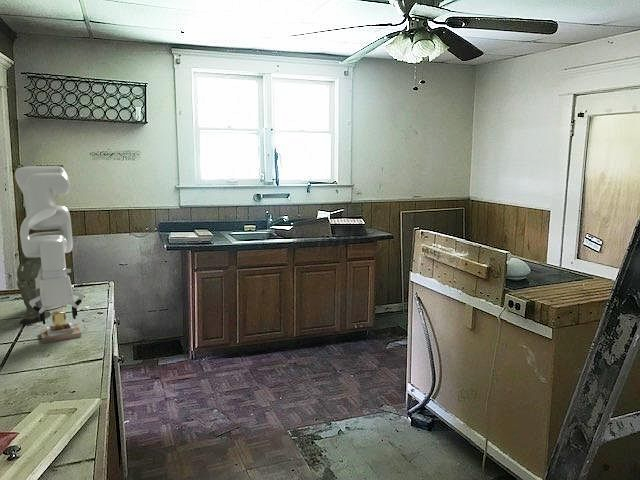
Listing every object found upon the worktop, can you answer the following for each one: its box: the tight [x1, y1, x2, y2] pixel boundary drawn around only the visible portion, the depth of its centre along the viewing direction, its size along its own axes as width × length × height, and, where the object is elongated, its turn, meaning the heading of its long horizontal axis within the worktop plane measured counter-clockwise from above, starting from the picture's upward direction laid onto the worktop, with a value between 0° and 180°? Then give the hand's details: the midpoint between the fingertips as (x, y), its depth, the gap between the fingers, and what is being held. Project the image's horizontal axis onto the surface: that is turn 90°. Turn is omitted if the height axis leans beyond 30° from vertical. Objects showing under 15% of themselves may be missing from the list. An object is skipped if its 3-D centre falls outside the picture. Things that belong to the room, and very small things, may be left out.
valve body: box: [51, 310, 68, 331], centre depth 182 cm, size 4×4×7 cm
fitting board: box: [39, 322, 82, 344], centre depth 182 cm, size 11×12×3 cm
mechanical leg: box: [16, 254, 51, 325], centre depth 199 cm, size 14×7×30 cm, turn 168°
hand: (59, 320), depth 182 cm, fingers open, 9 cm apart
